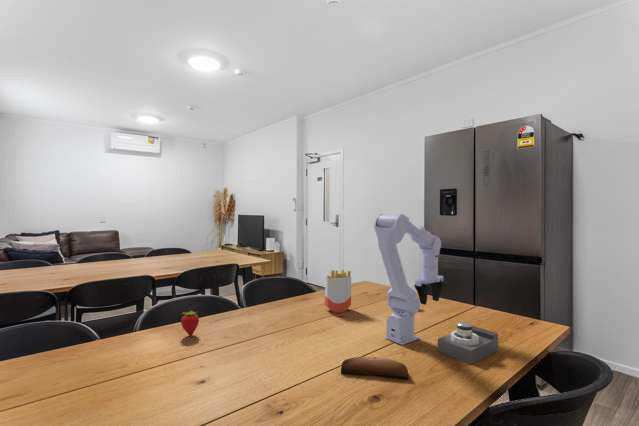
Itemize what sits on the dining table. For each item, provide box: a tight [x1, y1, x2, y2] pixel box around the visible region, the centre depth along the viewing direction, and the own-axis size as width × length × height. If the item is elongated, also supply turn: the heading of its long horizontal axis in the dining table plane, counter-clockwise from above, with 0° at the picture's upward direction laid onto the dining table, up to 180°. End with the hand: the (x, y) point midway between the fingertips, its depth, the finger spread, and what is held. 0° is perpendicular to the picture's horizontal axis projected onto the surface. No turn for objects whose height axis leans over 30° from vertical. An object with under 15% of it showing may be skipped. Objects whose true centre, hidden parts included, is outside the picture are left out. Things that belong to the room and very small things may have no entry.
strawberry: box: [180, 309, 200, 337], centre depth 119 cm, size 6×8×10 cm
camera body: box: [437, 325, 499, 365], centre depth 107 cm, size 16×11×6 cm
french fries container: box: [324, 269, 352, 313], centre depth 149 cm, size 5×11×18 cm, turn 106°
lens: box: [456, 321, 473, 339], centre depth 106 cm, size 4×4×5 cm
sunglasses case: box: [340, 356, 409, 380], centre depth 94 cm, size 18×7×7 cm
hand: (429, 302), depth 128 cm, fingers open, 7 cm apart
